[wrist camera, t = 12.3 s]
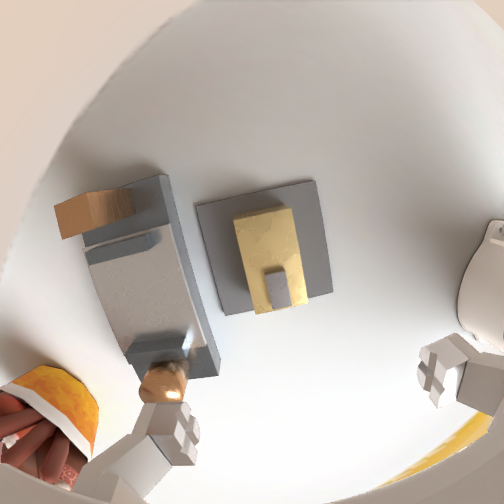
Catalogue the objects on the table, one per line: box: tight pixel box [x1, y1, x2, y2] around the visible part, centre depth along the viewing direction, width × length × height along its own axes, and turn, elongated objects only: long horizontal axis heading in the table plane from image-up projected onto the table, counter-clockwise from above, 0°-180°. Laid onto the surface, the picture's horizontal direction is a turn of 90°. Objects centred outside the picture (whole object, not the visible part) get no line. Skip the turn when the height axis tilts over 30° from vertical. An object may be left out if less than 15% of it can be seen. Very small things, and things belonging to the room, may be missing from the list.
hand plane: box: [54, 175, 221, 404], centre depth 22 cm, size 20×9×10 cm, turn 12°
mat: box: [196, 181, 333, 316], centre depth 26 cm, size 11×11×1 cm
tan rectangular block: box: [233, 204, 308, 314], centre depth 24 cm, size 8×4×5 cm, turn 12°
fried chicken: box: [0, 365, 99, 491], centre depth 22 cm, size 20×16×20 cm
